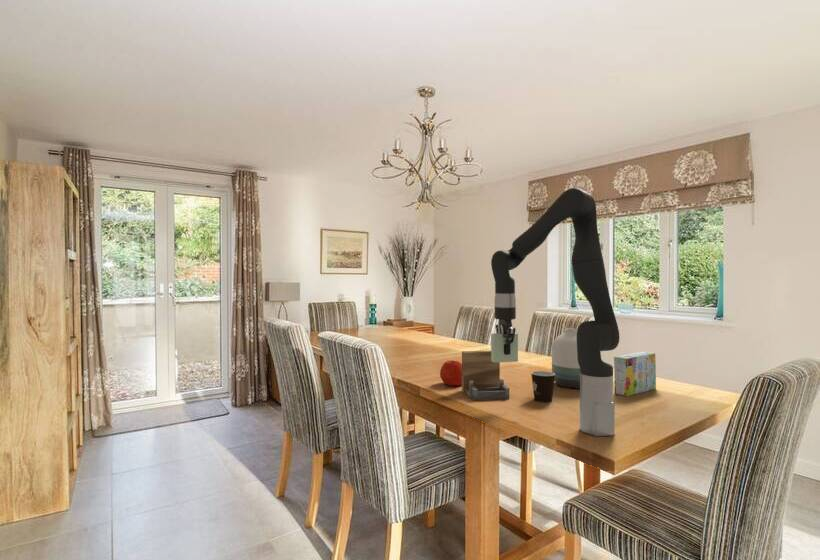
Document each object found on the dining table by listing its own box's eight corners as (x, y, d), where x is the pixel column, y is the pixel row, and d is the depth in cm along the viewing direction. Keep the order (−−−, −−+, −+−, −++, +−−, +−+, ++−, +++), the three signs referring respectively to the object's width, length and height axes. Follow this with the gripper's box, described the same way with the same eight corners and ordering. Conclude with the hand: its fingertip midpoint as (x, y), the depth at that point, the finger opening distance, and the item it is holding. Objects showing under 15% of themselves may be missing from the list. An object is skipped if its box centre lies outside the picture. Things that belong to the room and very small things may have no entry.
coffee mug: (556, 403, 160) (556, 376, 160) (532, 402, 162) (532, 375, 162) (552, 395, 172) (552, 369, 172) (529, 394, 174) (530, 368, 173)
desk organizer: (510, 398, 167) (510, 356, 167) (472, 400, 165) (472, 357, 164) (497, 389, 181) (497, 350, 181) (461, 390, 179) (461, 351, 179)
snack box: (643, 386, 186) (643, 351, 186) (656, 389, 181) (656, 353, 181) (613, 393, 174) (613, 355, 174) (626, 397, 170) (627, 358, 170)
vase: (566, 391, 177) (566, 332, 177) (544, 381, 194) (544, 327, 193) (603, 389, 181) (603, 331, 181) (578, 379, 198) (578, 326, 197)
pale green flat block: (517, 361, 158) (517, 333, 158) (494, 362, 157) (494, 334, 157) (514, 360, 161) (514, 332, 161) (491, 360, 160) (491, 333, 160)
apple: (435, 384, 189) (435, 359, 189) (452, 380, 197) (452, 356, 197) (453, 389, 181) (453, 363, 181) (470, 384, 189) (470, 360, 189)
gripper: (522, 307, 153) (523, 356, 153) (507, 304, 167) (507, 350, 167) (502, 307, 151) (502, 357, 151) (488, 305, 165) (488, 350, 165)
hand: (505, 353), depth 159 cm, fingers closed on pale green flat block, 3 cm apart
